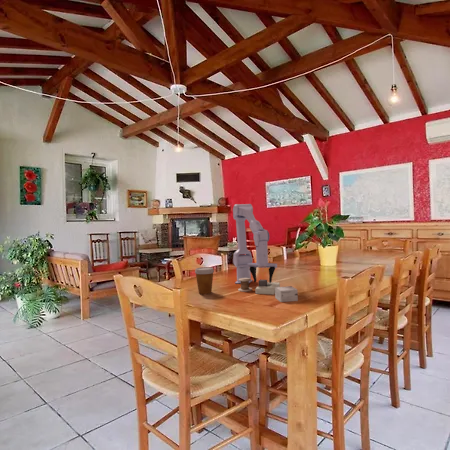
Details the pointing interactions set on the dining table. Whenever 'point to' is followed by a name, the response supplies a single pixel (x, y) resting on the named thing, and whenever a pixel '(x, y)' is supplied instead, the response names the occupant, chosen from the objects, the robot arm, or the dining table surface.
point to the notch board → (267, 288)
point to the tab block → (263, 283)
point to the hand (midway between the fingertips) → (262, 282)
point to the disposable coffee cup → (204, 279)
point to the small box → (286, 294)
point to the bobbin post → (244, 285)
